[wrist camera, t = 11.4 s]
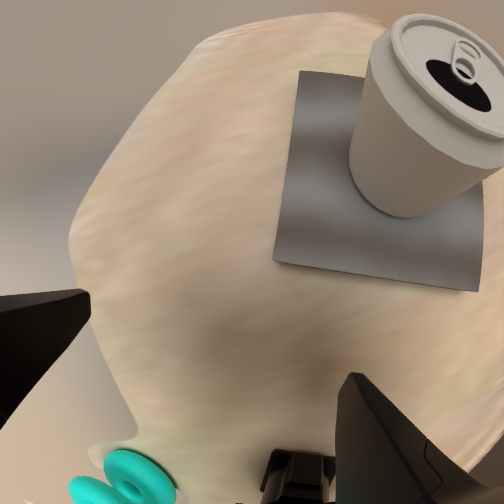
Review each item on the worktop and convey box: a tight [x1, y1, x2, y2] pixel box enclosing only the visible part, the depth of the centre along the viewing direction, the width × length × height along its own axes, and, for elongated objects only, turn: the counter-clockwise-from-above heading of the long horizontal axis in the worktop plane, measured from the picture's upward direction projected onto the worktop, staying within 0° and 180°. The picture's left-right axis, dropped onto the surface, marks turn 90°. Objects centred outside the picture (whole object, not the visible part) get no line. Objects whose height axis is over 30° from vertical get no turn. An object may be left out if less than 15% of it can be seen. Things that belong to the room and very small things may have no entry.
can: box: [349, 13, 504, 218], centre depth 11 cm, size 8×8×12 cm
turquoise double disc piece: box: [69, 450, 176, 504], centre depth 18 cm, size 10×10×10 cm
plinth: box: [273, 71, 484, 292], centre depth 18 cm, size 16×16×3 cm
